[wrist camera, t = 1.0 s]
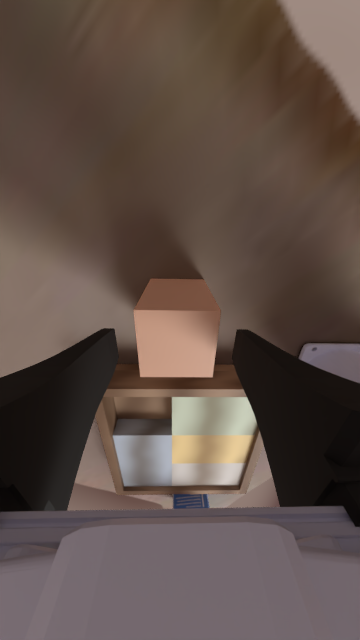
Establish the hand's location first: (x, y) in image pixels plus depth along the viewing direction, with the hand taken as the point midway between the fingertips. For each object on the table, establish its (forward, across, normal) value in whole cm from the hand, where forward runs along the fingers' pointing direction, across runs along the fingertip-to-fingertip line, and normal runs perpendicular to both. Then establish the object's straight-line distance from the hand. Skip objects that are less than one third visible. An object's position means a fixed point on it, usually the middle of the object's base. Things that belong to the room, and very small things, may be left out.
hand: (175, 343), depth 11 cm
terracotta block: (+7, 0, 0) cm, 7 cm away
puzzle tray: (+7, -1, +17) cm, 18 cm away
